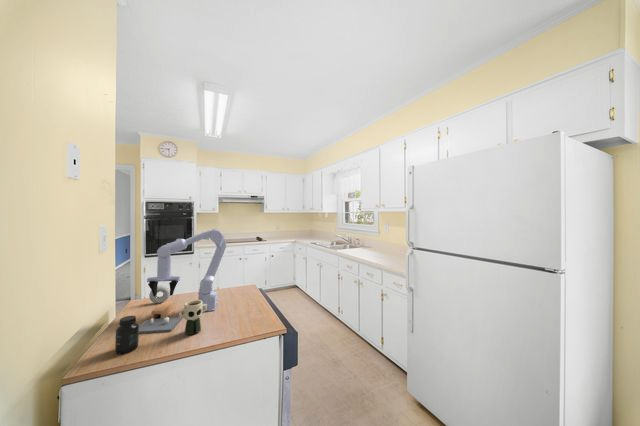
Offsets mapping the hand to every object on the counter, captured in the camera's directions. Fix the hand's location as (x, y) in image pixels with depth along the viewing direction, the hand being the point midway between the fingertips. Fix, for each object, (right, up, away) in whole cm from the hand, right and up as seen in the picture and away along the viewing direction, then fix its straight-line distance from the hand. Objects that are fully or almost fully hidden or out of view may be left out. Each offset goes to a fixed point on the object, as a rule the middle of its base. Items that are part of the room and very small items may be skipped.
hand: (163, 295), depth 118 cm
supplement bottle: (+7, -10, -30) cm, 33 cm away
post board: (+6, -10, -12) cm, 17 cm away
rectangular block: (0, -10, 0) cm, 10 cm away
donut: (-12, -10, +15) cm, 22 cm away
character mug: (+24, -11, -17) cm, 31 cm away
